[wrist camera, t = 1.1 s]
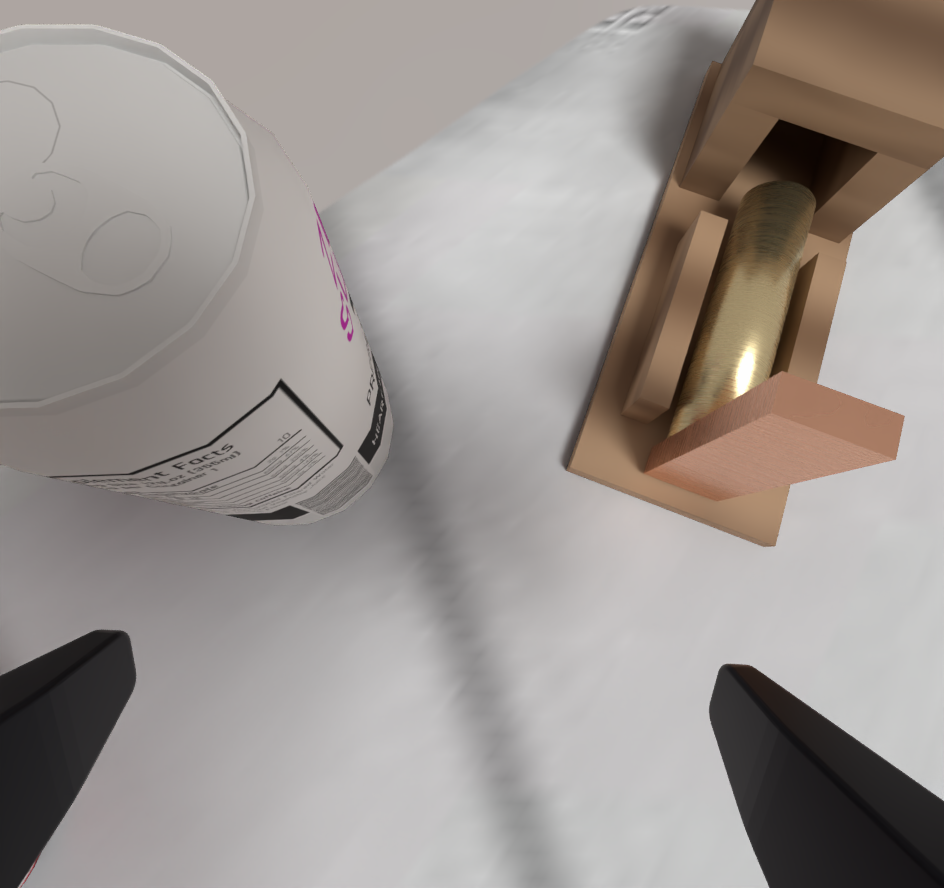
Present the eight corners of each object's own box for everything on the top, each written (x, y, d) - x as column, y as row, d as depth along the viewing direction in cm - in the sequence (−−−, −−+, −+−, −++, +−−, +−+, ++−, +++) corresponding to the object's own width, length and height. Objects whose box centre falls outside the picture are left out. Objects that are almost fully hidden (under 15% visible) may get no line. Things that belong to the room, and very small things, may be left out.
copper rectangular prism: (716, 501, 22) (896, 459, 13) (643, 473, 22) (771, 413, 13) (789, 239, 25) (976, 59, 16) (724, 216, 25) (873, 25, 16)
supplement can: (166, 471, 22) (-381, 296, 8) (272, 315, 24) (-10, -71, 9) (332, 562, 22) (81, 558, 7) (428, 394, 23) (385, 114, 9)
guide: (763, 546, 22) (905, 539, 15) (566, 470, 23) (615, 429, 16) (869, 130, 27) (1011, -18, 20) (705, 74, 28) (789, -90, 21)
